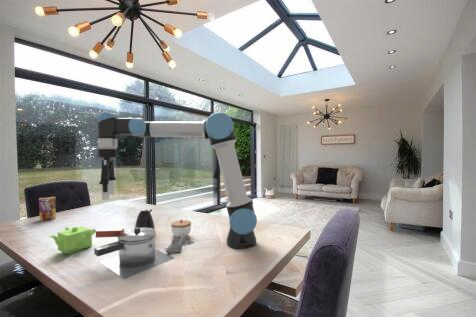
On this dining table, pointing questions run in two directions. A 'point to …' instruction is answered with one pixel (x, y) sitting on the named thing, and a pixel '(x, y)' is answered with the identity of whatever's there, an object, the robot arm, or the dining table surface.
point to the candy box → (47, 208)
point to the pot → (130, 252)
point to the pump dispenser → (145, 220)
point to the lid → (127, 234)
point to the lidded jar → (181, 228)
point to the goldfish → (178, 244)
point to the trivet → (127, 272)
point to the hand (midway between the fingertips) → (108, 197)
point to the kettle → (74, 239)
